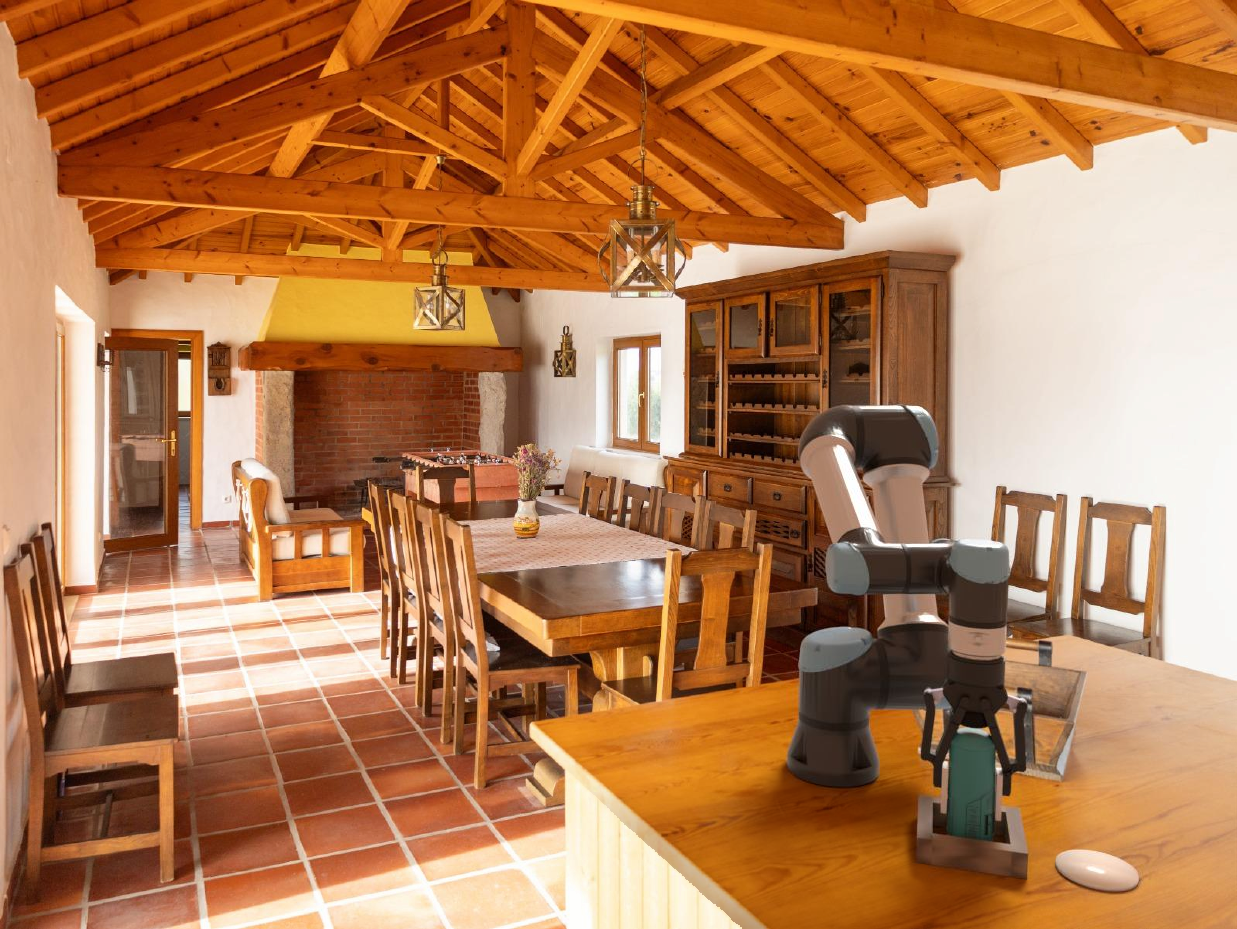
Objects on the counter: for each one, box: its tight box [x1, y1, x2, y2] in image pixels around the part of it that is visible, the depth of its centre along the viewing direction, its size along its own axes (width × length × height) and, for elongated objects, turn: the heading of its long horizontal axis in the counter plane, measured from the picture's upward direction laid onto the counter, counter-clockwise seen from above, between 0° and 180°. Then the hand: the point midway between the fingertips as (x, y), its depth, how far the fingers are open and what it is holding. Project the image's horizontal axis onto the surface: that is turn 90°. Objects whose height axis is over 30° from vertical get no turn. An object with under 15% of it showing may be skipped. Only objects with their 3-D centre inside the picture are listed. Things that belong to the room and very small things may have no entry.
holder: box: [915, 794, 1029, 880], centre depth 136 cm, size 14×14×4 cm
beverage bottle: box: [946, 712, 997, 842], centre depth 136 cm, size 6×7×20 cm
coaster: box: [1055, 849, 1140, 893], centre depth 130 cm, size 10×10×1 cm
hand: (970, 812), depth 136 cm, fingers closed on beverage bottle, 6 cm apart
